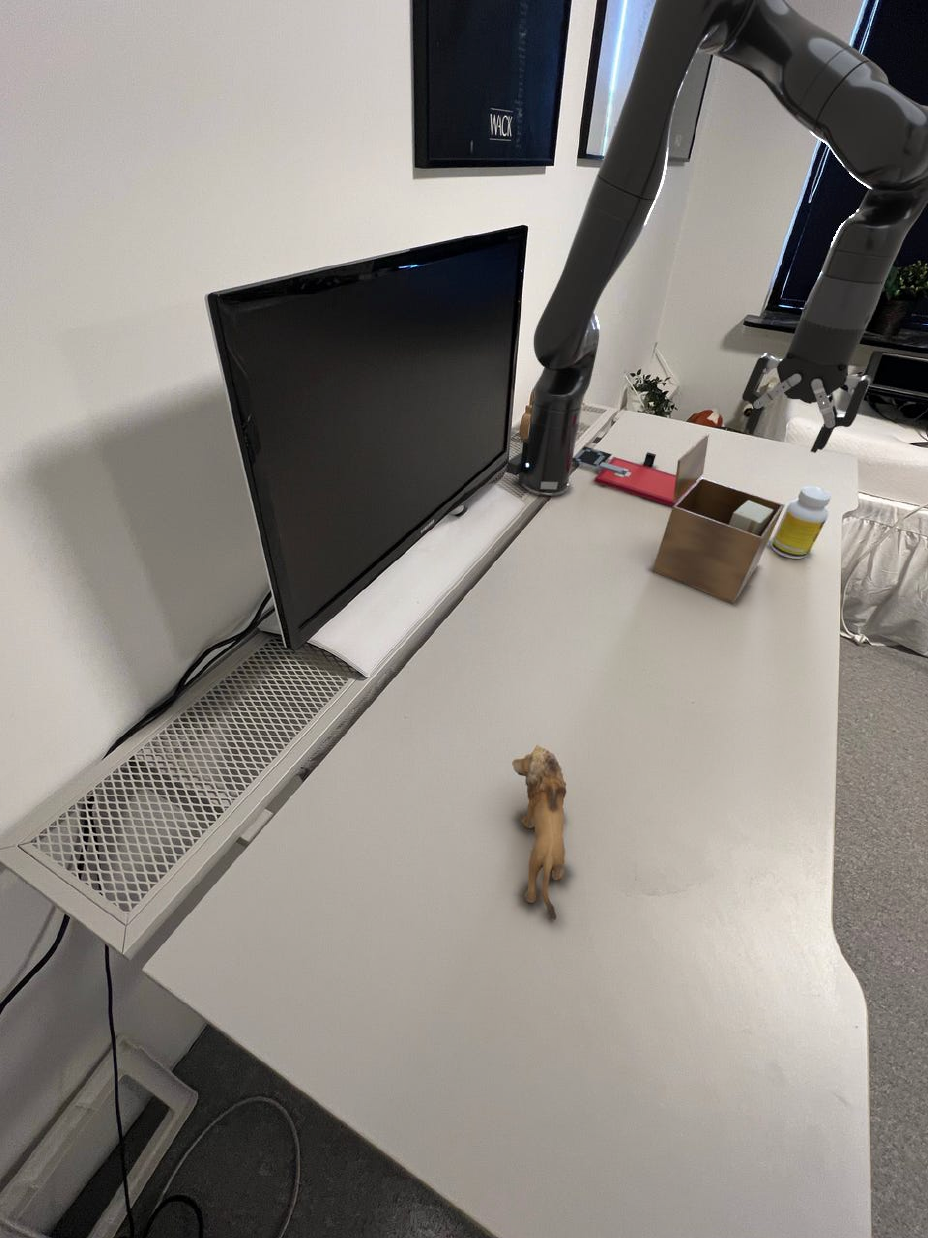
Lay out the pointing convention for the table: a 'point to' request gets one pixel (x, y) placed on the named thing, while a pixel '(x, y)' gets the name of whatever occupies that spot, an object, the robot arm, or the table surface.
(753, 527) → the cosmetic box
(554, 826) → the lion figurine
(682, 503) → the carton
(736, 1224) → the table surface
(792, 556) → the pill bottle
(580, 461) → the red board with handle
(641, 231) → the robot arm
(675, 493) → the flap
